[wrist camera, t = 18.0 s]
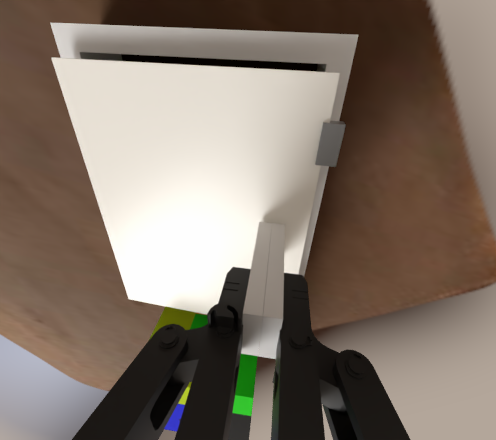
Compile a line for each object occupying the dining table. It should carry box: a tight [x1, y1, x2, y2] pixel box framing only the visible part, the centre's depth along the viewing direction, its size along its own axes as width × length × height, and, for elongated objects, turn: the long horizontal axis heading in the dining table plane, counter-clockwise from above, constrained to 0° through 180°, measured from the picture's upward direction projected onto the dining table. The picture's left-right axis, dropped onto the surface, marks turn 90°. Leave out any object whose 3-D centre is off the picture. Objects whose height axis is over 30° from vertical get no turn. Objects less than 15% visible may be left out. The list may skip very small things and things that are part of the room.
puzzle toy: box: [149, 307, 257, 440], centre depth 27 cm, size 10×10×10 cm
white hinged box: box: [50, 23, 358, 277], centre depth 19 cm, size 20×15×4 cm
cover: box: [52, 58, 346, 314], centre depth 17 cm, size 18×15×1 cm
